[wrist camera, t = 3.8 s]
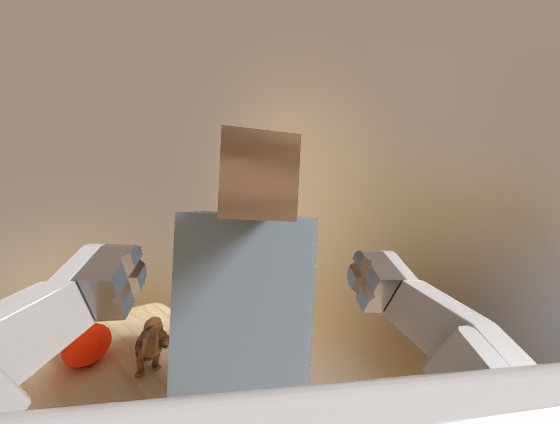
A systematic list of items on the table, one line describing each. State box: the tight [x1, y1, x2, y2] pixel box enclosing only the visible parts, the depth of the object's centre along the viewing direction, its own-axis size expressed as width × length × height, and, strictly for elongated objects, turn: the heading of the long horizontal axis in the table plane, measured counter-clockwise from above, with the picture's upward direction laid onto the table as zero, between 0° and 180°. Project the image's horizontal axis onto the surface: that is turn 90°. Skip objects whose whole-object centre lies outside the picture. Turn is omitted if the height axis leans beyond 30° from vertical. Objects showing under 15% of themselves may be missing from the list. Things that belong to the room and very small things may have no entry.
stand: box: [167, 211, 318, 397], centre depth 25 cm, size 13×12×29 cm
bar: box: [217, 125, 301, 222], centre depth 20 cm, size 22×4×4 cm, turn 10°
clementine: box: [61, 323, 112, 367], centre depth 39 cm, size 8×7×7 cm
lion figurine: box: [135, 317, 169, 377], centre depth 41 cm, size 15×5×9 cm, turn 35°
